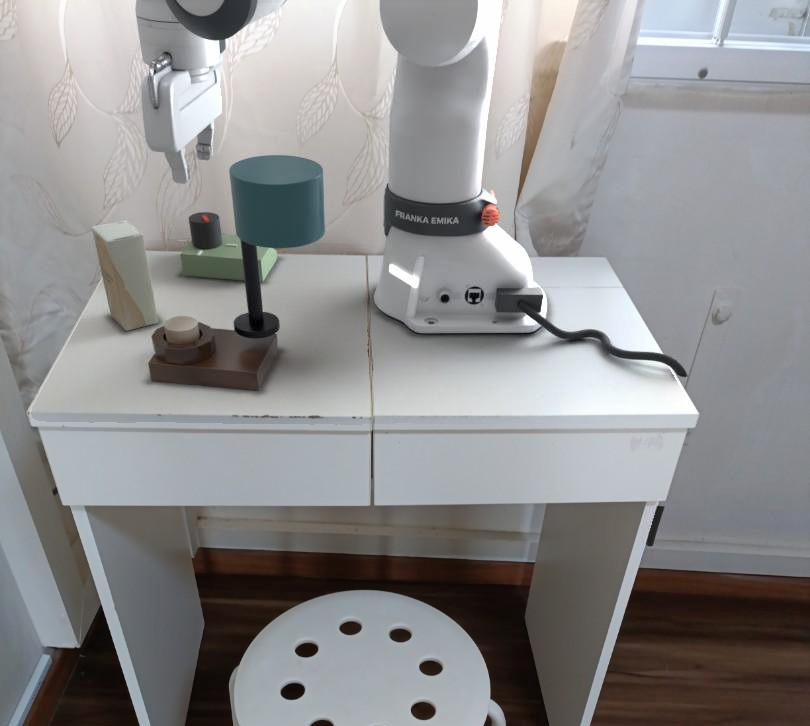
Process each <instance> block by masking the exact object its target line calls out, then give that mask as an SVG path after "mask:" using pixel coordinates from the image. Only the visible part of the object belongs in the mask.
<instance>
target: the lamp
mask: <svg viewBox="0 0 810 726" xmlns="http://www.w3.org/2000/svg"><path fill="white" fill-rule="evenodd" d="M228 172H229V174H228V175H229V180H230V191H231V192H230V193H231V199H232V209H233V218H234V228H235V235H237V236H238V237H239V239H240V240H241V250H242V259H243V269H244V278H245V281H244V286H245V297H246V306H247V312H245V313H241V314H239V315H238V316H236V317H235V319H234V320H233V330H235V332H236V333H237V334H238V335H240V336H243V337H246V338H265V337H269V336H272V335H274V334H277V333H278V332H279V330H280V328H281V326H280V319H279V317H278V316H277V315H276V314H274V313H272V312H268V311H264V310H263V309H264V308H263V299H262V288H261V287H262V285H261V282H260V275H259V264H258V254H257V246H259V247H266V248H273V249H274V250H276V251H277V252H281V253H283V252H288V251H290V250H291V249H292V248H298V247H299V248H300V247H303V246H307V245H311V244H313V243H316V242H318V241H320V239H322V238H323V237H324V235H325V233H326V219H325V218H326V217H325V216H326V215H325V195H324V194H325V190H324V189H325V188H324V186H325V185H324V169H323V167H322V165H321V164H320V163H319V162H317V161H315V160H313V159H309V158H307V157H301V156H296V155H287V154H286V155H285V154H265V155H258V156H252V157H251V156H250V157H247V158H244V159H240V160H239V161H236V162H234V163H233V164H232V165H230V167H229V169H228Z"/></svg>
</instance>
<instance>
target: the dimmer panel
mask: <svg viewBox="0 0 810 726" xmlns="http://www.w3.org/2000/svg"><path fill="white" fill-rule="evenodd" d="M221 236H222V245H220V246H219V247H216V248H212V249H200V248H196V247H194V246H193V244H192V240H190V241H189V240H186V239H178V240H177V242H178V243H187V245H185V247H184V249H183V250H182V251H181V252H180V253H179V255H180V262H181V269H182V274H183V276H185V277H195V278H206V279H207V278H210V279H220V280H233V281H244V282H245V278H244V269H243V259H242V250H241V240H240V239H239V237H238V236H237V234H233V233H232V234H231V233H221ZM257 254H258V264H259V275H260V283H263V282H265V279H266V278H267V276H268V275H269V273H270V271H271V270H272V268H273V266H274V265H275V263H276V261H277V260H278V251H276V250H274V249H273V248H266V247H259V246H257Z"/></svg>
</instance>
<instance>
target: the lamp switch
mask: <svg viewBox="0 0 810 726" xmlns="http://www.w3.org/2000/svg"><path fill="white" fill-rule="evenodd" d="M198 322H199V321H198V319H197V318H195V317H193V316H190V315H189V316H188V315H178V316H173V317H170V318H168V319H166V320H165V321H164V323H163V326H164V329H165V335H166V340H167V342H169V343H172V344H187V343H192V342H194V341H196V340H199V339H200V333H199V326H198Z"/></svg>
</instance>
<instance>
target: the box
mask: <svg viewBox="0 0 810 726" xmlns="http://www.w3.org/2000/svg"><path fill="white" fill-rule="evenodd" d="M91 232H92V235H93V240H94V245H95V249H96V254H97V258H98V264H99V267H100V272H101V276H102V281H103V286H104V290H105V296H106V299H107V304H108V309H109V314H110V316H111V317H112V319H114V320H115V322H116V323H117V324H118V325H119V326H120V327H121V328H123V330H125V331H126V332H129V331H132V330H136V329H139V328H144V327H147V326H151V325H155V324H158V323H159V318H158V312H157V311H158V310H157V306H156V299H155V295H154V294H155V293H154V289H153V288H154V287H153V283H152V278H151V277H152V276H151V272H150V266H149V259H148V254H147V249H146V248H147V247H146V242H145V237H144V233H142V232H141V231H140V230H139V229H138V228H137V227H135V226H134V225H132V223H130V222H129V221H128V220H126V219H124V220H119V221H113V222H110V223H104V224H98V225H94V226H91Z"/></svg>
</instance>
